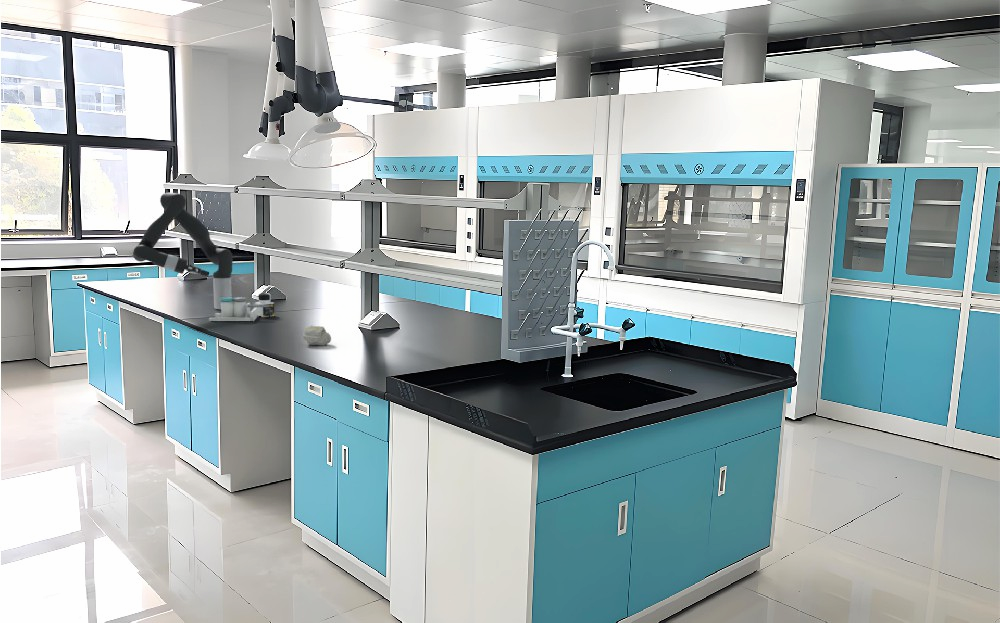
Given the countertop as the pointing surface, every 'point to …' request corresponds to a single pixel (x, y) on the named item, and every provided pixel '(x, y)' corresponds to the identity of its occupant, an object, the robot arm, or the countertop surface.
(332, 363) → the countertop surface
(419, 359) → the countertop surface
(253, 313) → the lane
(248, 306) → the follower
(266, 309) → the medicine bottle
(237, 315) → the stock jar
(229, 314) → the jar
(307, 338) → the grey lumpy stone
